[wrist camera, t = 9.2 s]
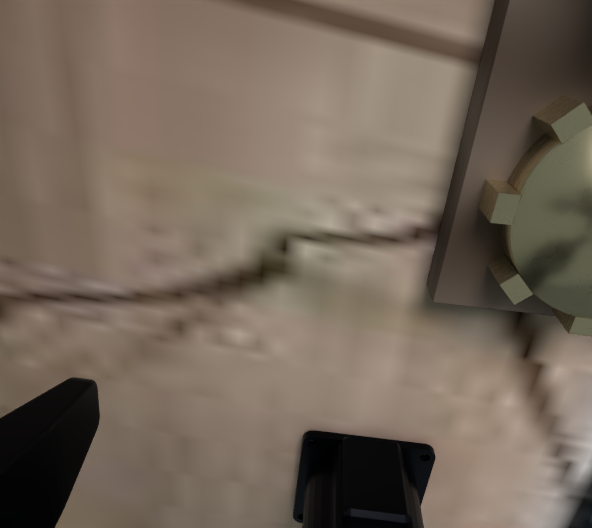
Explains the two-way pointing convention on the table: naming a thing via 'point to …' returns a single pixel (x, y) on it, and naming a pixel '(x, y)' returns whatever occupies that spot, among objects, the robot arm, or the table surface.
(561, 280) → the brass gear
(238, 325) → the table surface
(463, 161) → the gear board
